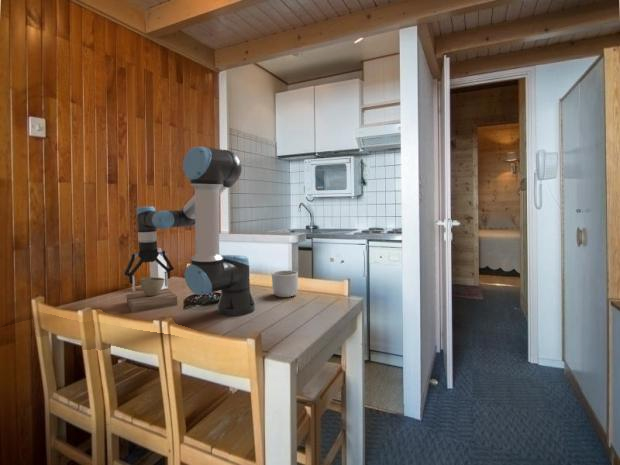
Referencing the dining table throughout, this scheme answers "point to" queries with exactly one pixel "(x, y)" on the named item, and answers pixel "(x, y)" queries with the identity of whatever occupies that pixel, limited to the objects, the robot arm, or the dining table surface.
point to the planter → (285, 283)
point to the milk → (158, 269)
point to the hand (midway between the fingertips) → (150, 288)
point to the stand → (151, 300)
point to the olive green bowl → (151, 285)
